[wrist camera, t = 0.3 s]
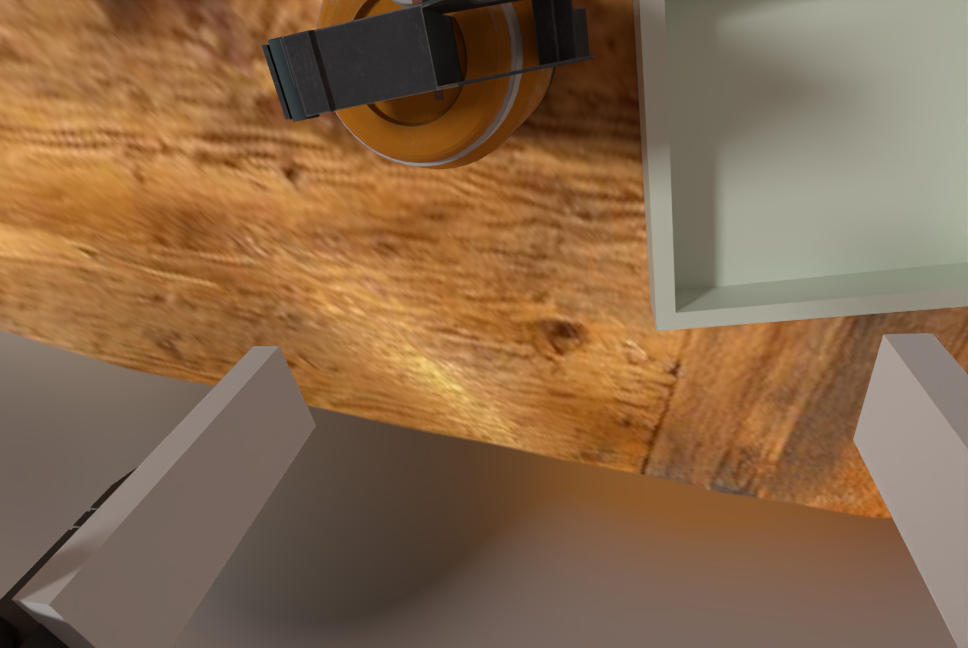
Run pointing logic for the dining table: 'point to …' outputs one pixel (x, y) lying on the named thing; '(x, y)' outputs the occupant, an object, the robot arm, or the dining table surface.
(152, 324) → the dining table surface
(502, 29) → the canister
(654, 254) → the tray
